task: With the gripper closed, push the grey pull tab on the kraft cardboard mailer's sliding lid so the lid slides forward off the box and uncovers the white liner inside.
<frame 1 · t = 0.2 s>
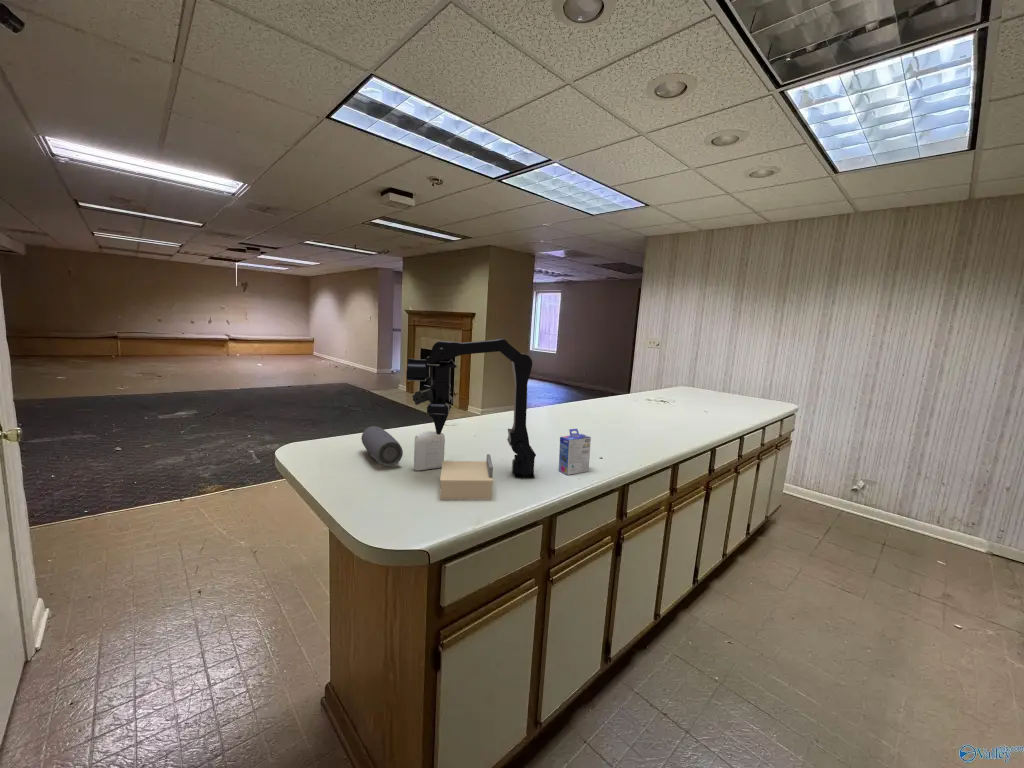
hand: (439, 430, 130), 14 cm above the table, tool pointing down, fingers open, 9 cm apart
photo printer: (429, 468, 138), on the table
ink cartridge box: (573, 471, 142), on the table
mailer box: (465, 488, 122), on the table
bluetooth speaker: (381, 460, 144), on the table
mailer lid: (466, 466, 121), point 7 cm above the table, slide at 0.0 cm
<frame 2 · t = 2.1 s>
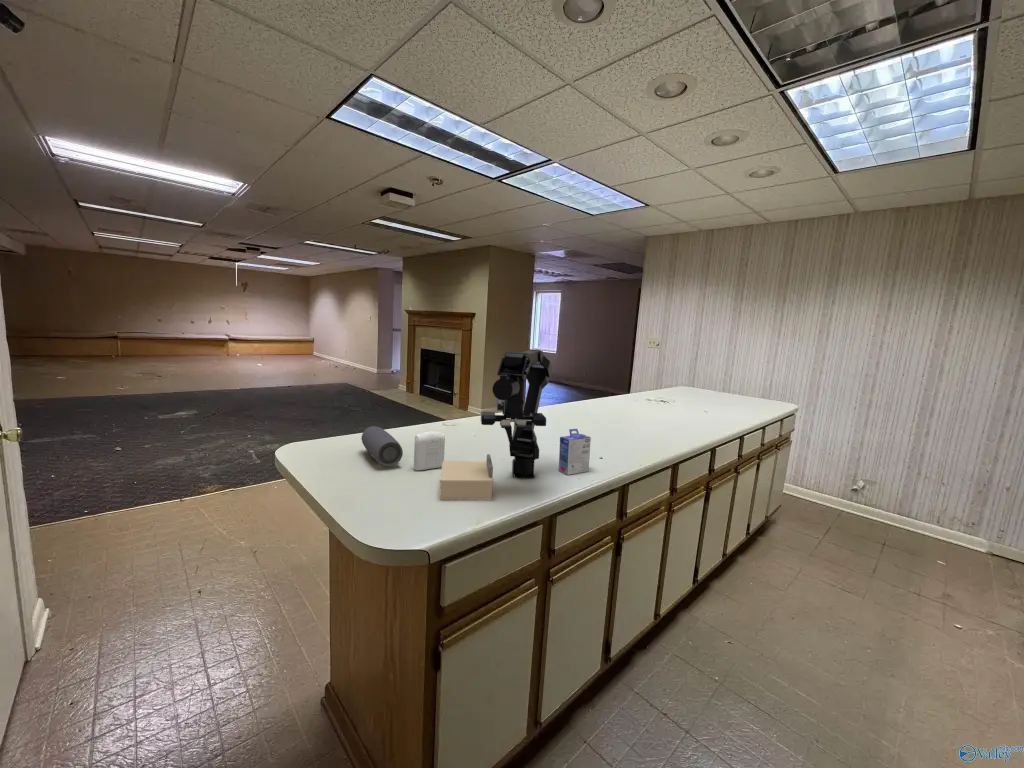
hand: (511, 447, 122), 13 cm above the table, tool pointing down, fingers closed
nothing on the table moved.
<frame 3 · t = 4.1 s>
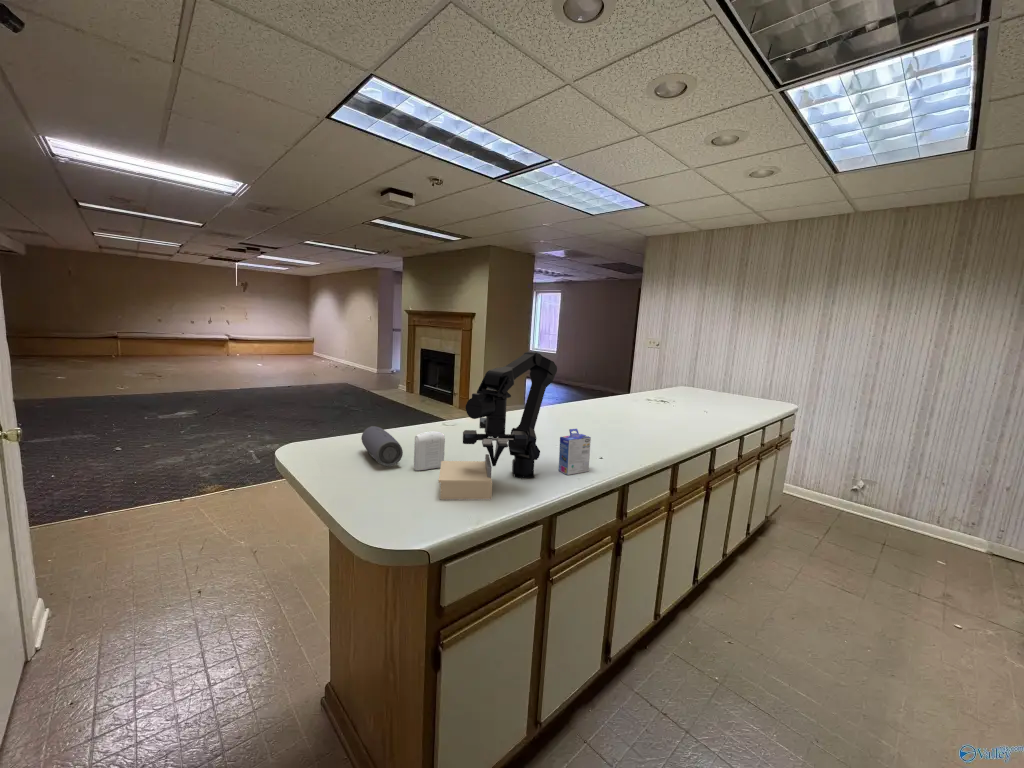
hand: (493, 465, 122), 7 cm above the table, tool pointing down, fingers closed
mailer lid: (465, 466, 121), point 7 cm above the table, slide at 0.4 cm, touching gripper
everything else where it was.
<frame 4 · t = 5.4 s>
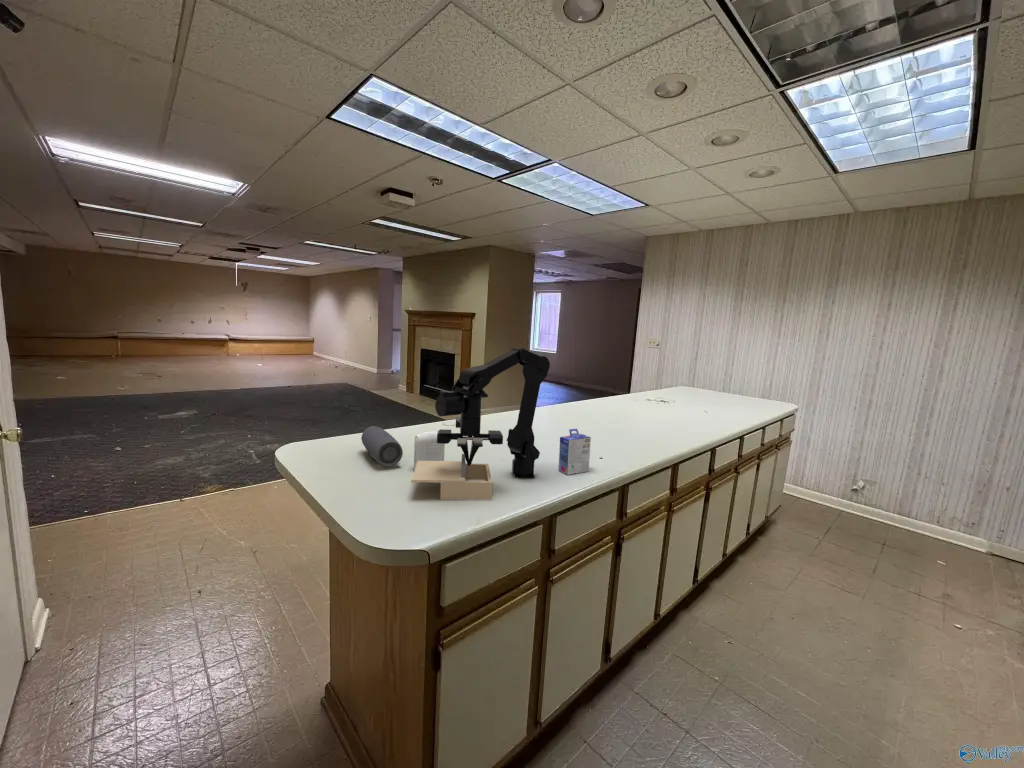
hand: (468, 465, 121), 7 cm above the table, tool pointing down, fingers closed
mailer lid: (440, 465, 120), point 7 cm above the table, slide at 7.7 cm, touching gripper
everything else where it was.
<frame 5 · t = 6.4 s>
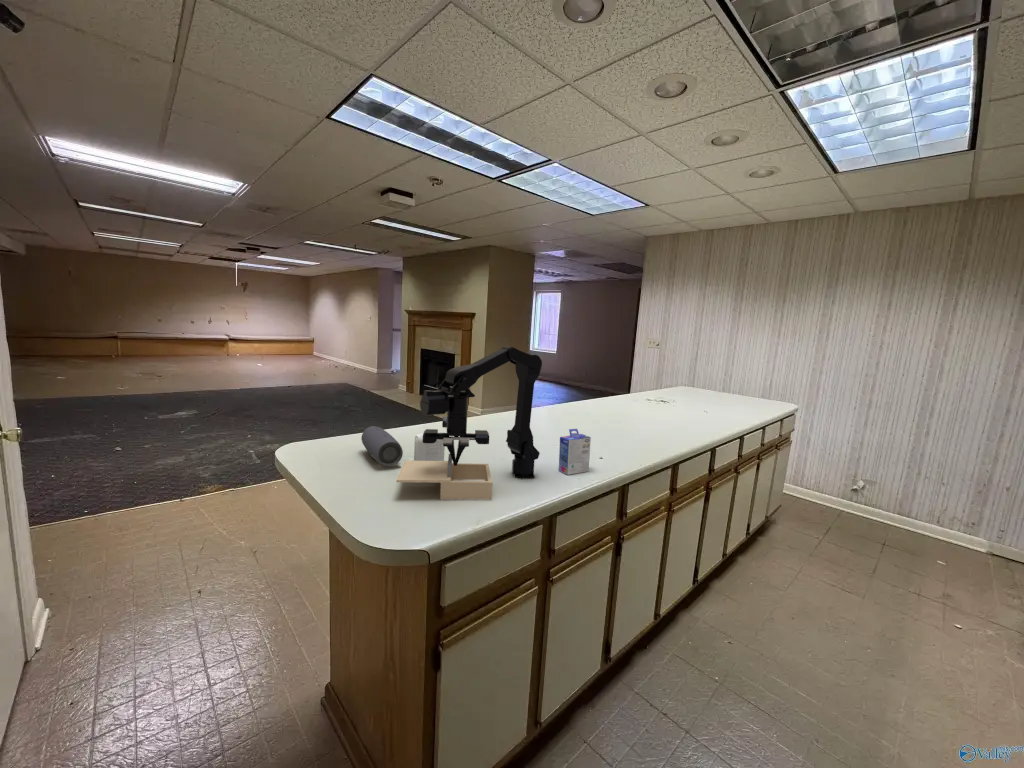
hand: (455, 465, 120), 7 cm above the table, tool pointing down, fingers closed
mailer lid: (426, 465, 120), point 7 cm above the table, slide at 11.6 cm, touching gripper
everything else where it was.
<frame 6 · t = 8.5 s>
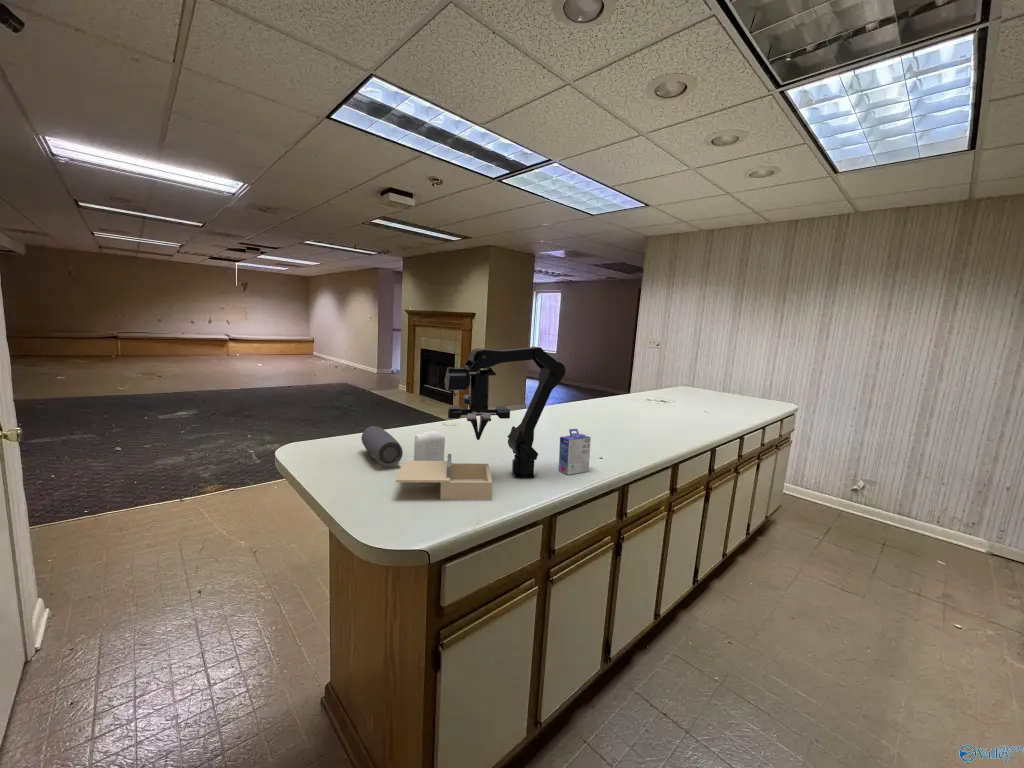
hand: (478, 439, 128), 13 cm above the table, tool pointing down, fingers closed
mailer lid: (425, 465, 120), point 7 cm above the table, slide at 11.8 cm
everything else where it was.
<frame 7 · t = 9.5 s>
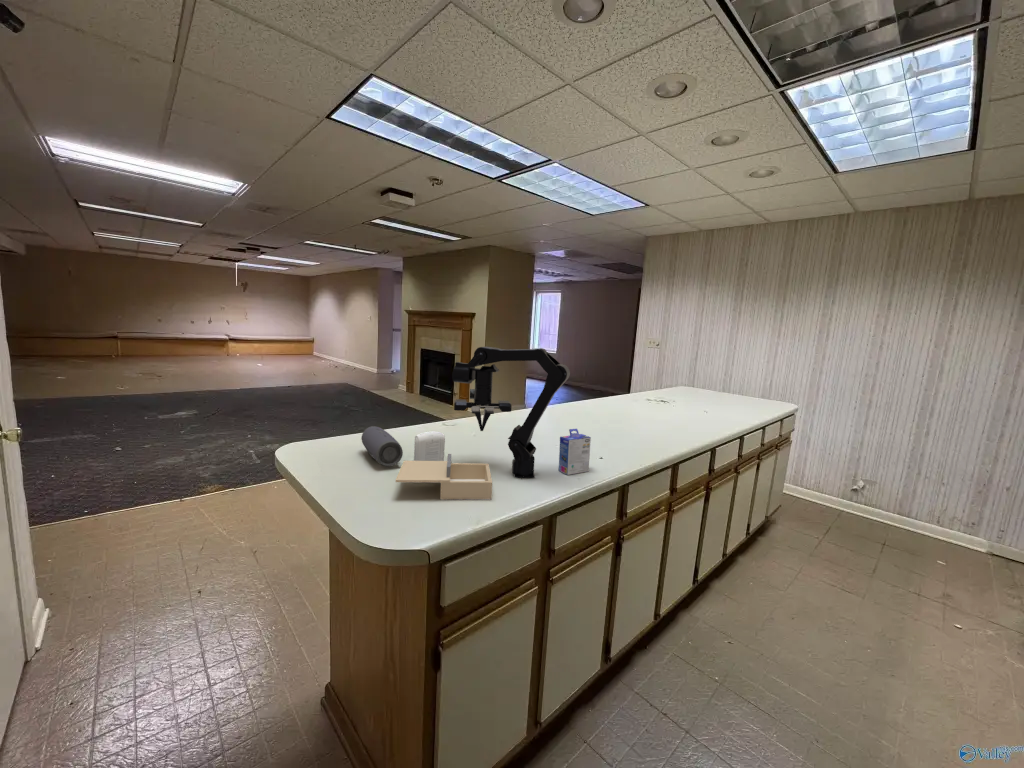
hand: (481, 430, 139), 13 cm above the table, tool pointing down, fingers closed
nothing on the table moved.
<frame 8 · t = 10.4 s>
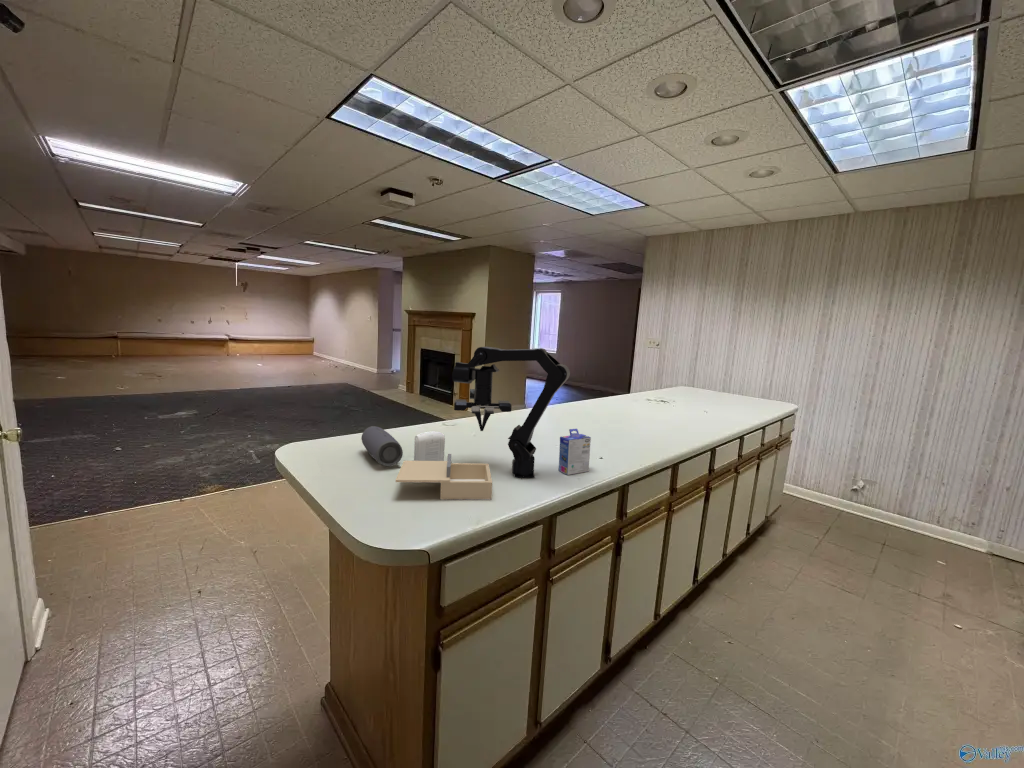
hand: (481, 430, 139), 13 cm above the table, tool pointing down, fingers closed
nothing on the table moved.
at the end: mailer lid slide at 11.8 cm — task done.
